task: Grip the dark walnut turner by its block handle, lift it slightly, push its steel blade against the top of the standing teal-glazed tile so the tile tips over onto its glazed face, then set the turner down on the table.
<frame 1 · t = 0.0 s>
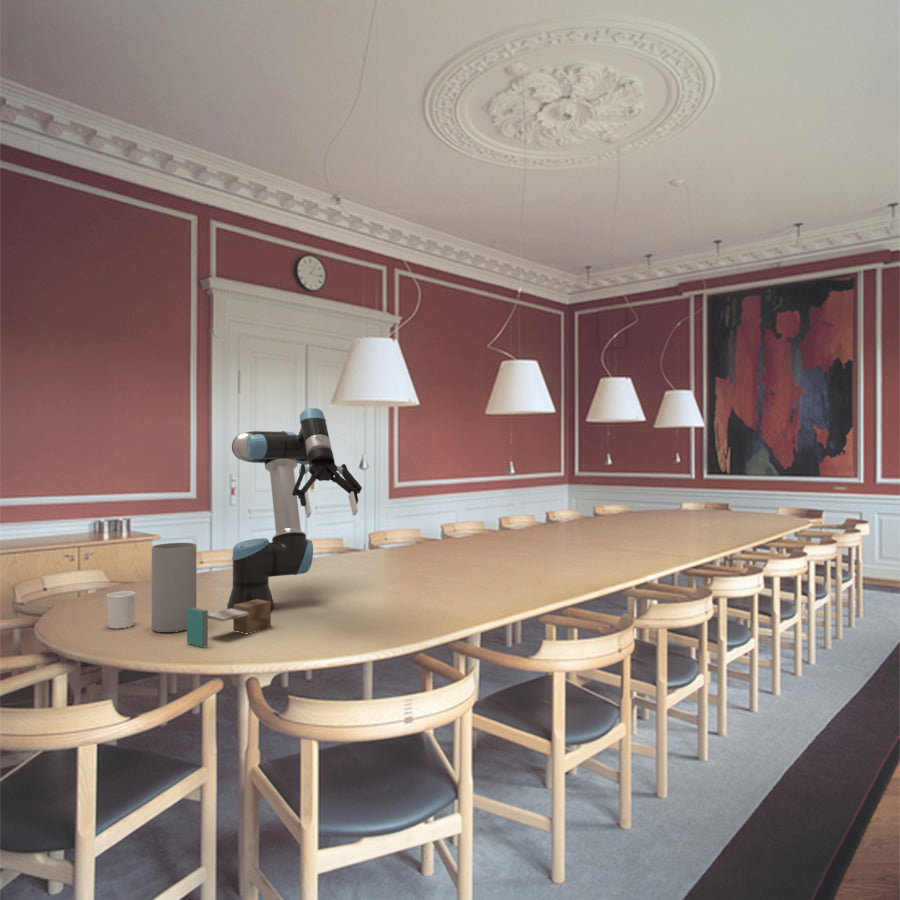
hand: (332, 514, 185), 36 cm above the table, tool tilted 35°, fingers open, 13 cm apart
turner: (252, 629, 197), on the table
tile: (197, 645, 181), on the table
cylinder vase: (174, 628, 198), on the table
white cup: (121, 627, 200), on the table
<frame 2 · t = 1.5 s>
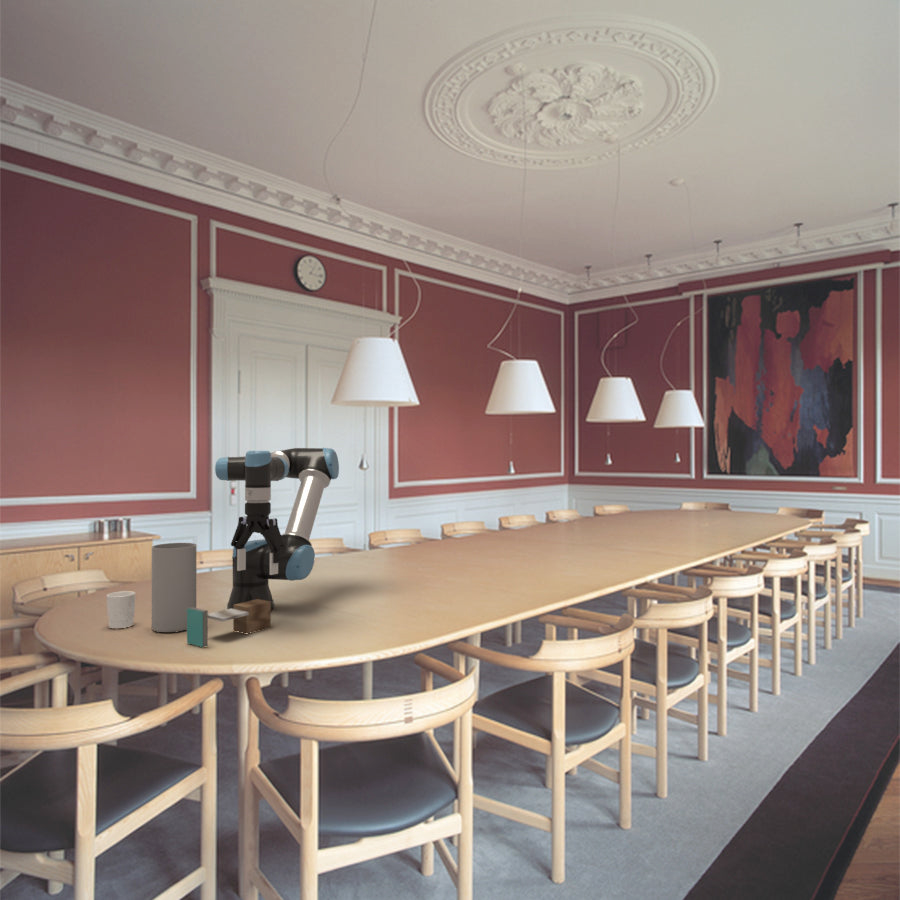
hand: (257, 572, 197), 17 cm above the table, tool pointing down, fingers open, 13 cm apart
nothing on the table moved.
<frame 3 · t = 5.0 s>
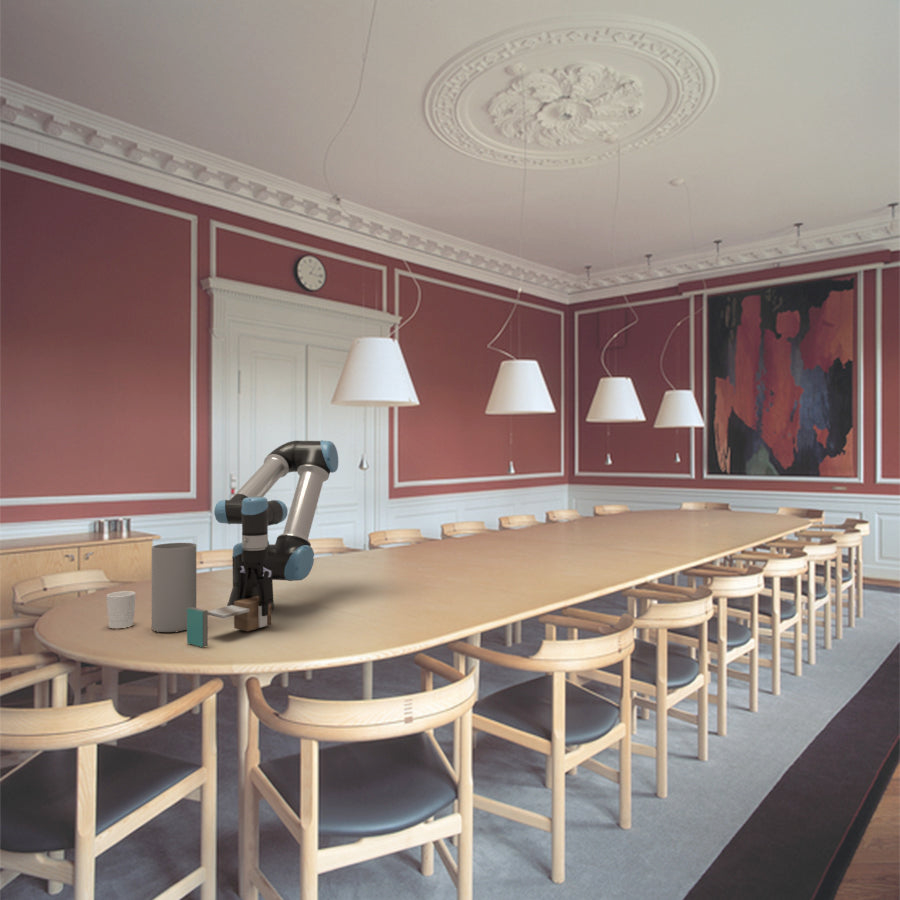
hand: (255, 624, 198), 1 cm above the table, tool pointing down, fingers closed on turner, 6 cm apart
turner: (253, 626, 197), point 1 cm above the table, touching gripper
everything else where it was.
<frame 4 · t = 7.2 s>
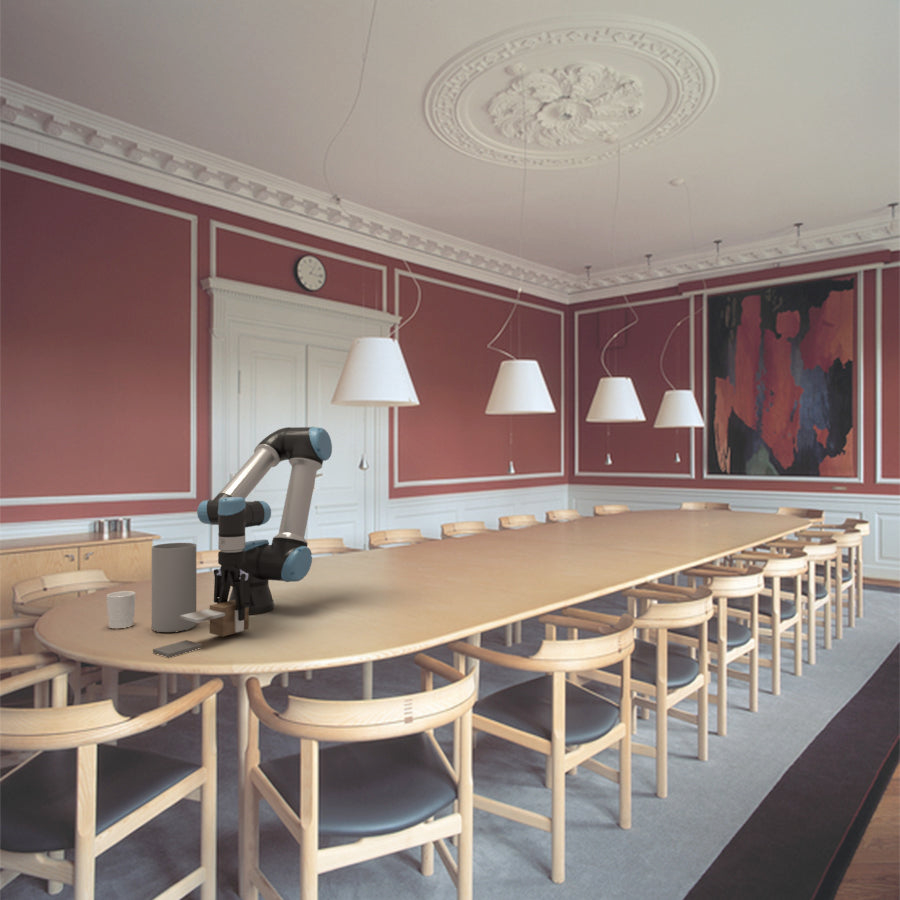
hand: (231, 629, 191), 2 cm above the table, tool pointing down, fingers closed on turner, 6 cm apart
turner: (229, 631, 190), point 1 cm above the table, touching gripper
tile: (194, 645, 180), on the table, tilted 90°
everything else where it was.
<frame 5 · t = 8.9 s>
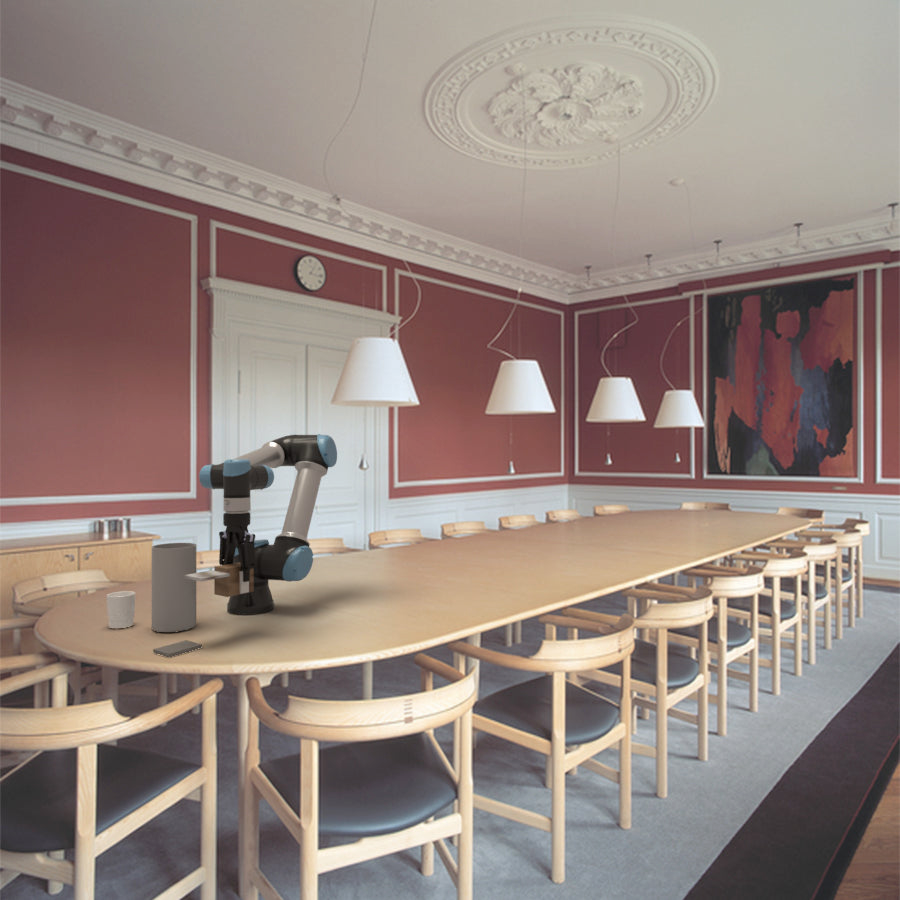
hand: (236, 591, 191), 13 cm above the table, tool pointing down, fingers closed on turner, 6 cm apart
turner: (234, 592, 190), point 13 cm above the table, touching gripper
everything else where it was.
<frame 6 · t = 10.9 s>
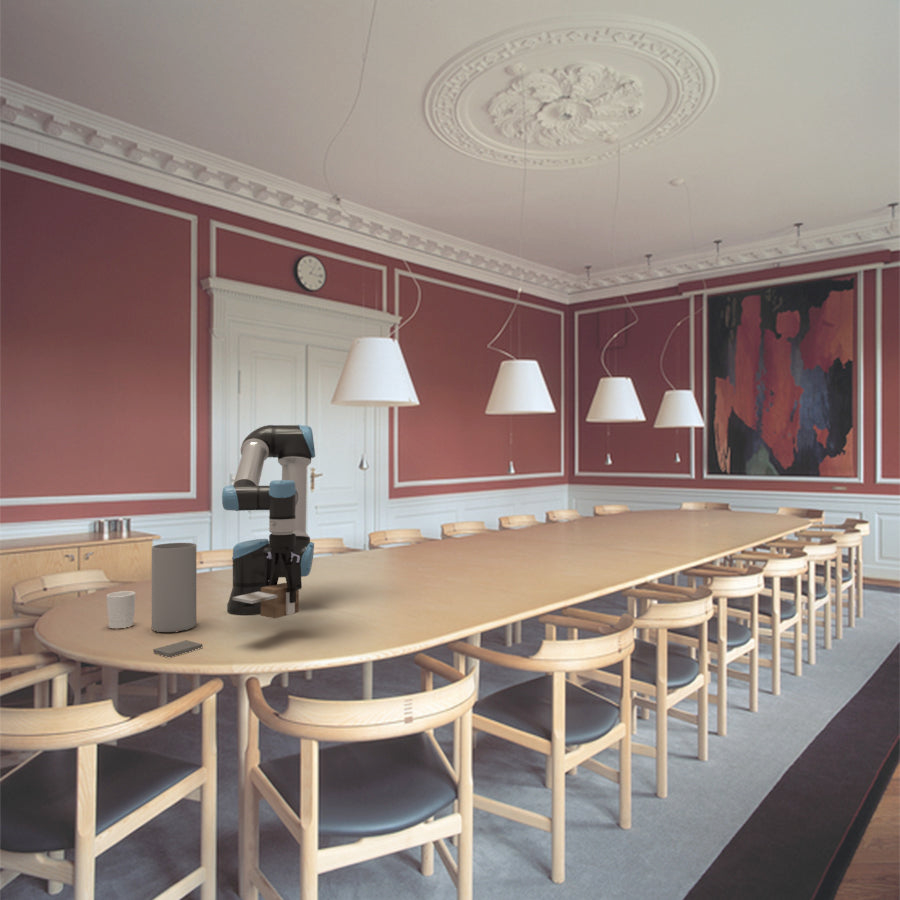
hand: (282, 612, 191), 7 cm above the table, tool pointing down, fingers closed on turner, 6 cm apart
turner: (279, 613, 190), point 6 cm above the table, touching gripper
everything else where it was.
when the fingers open (1 cm above the table, at t = 12.6 s): turner stays where it is, on the table.
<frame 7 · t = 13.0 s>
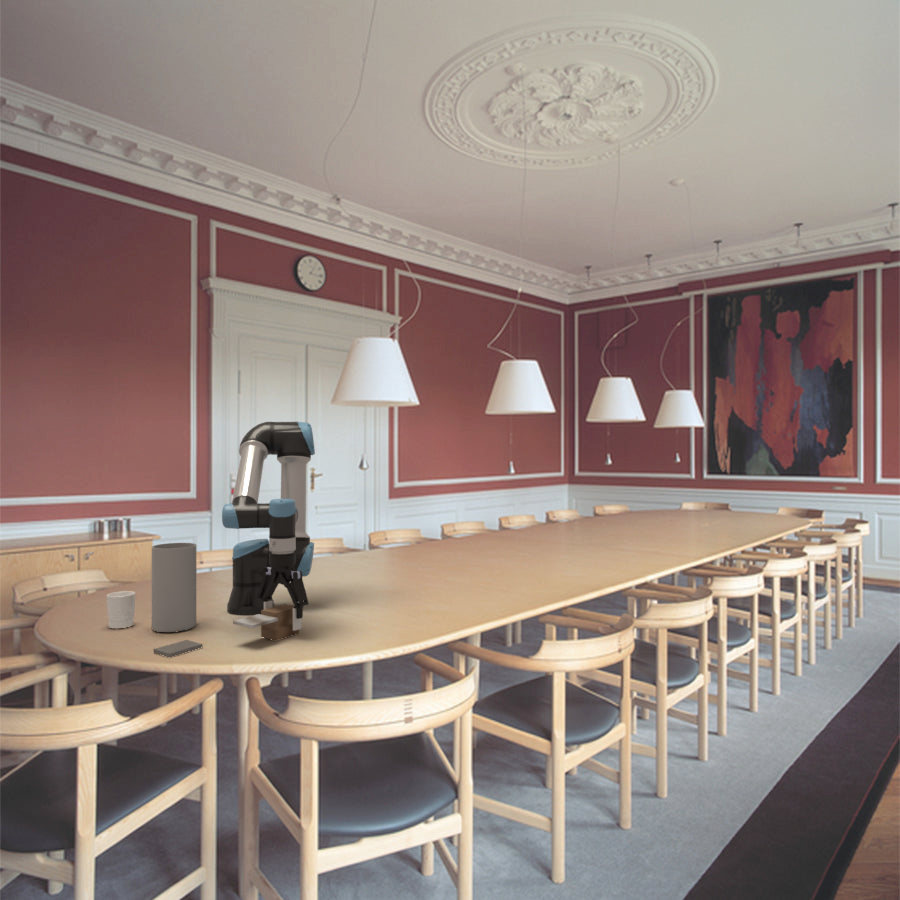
hand: (282, 626, 191), 2 cm above the table, tool pointing down, fingers open, 11 cm apart
turner: (280, 635, 190), on the table
everything else where it was.
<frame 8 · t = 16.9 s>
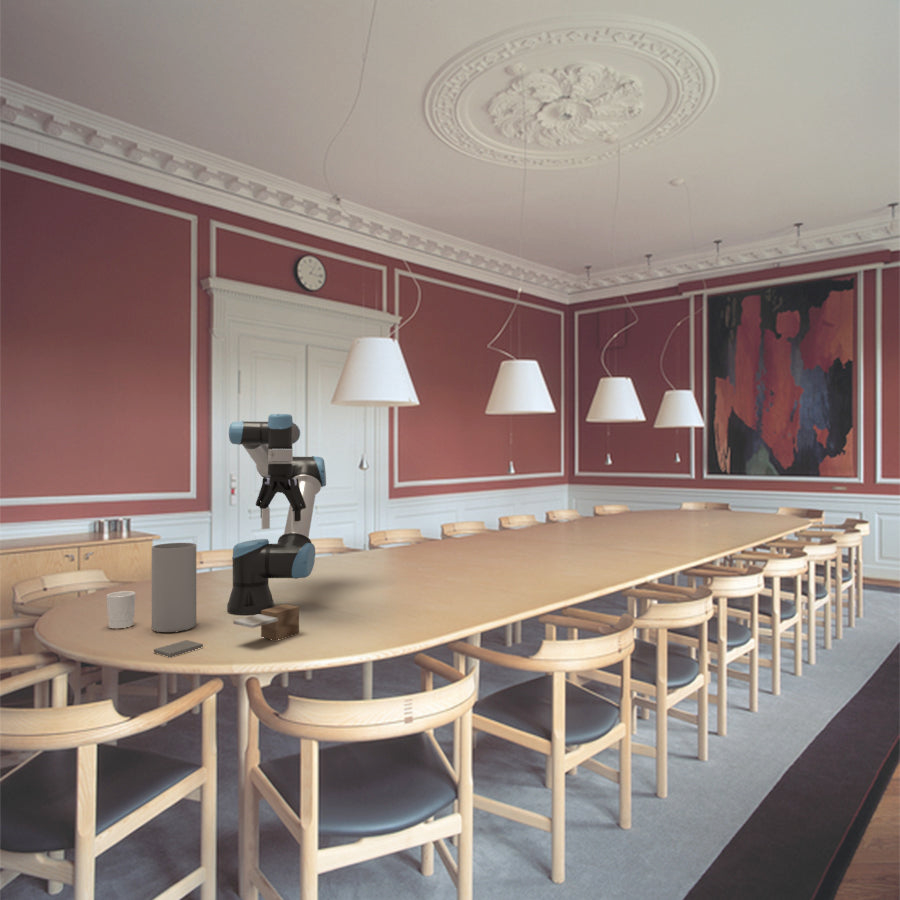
hand: (280, 530, 206), 29 cm above the table, tool pointing down, fingers open, 13 cm apart
nothing on the table moved.
at the end: tile tilted 90°; turner inside the target area (0.9 cm from its centre), on the table; the gripper is holding nothing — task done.
